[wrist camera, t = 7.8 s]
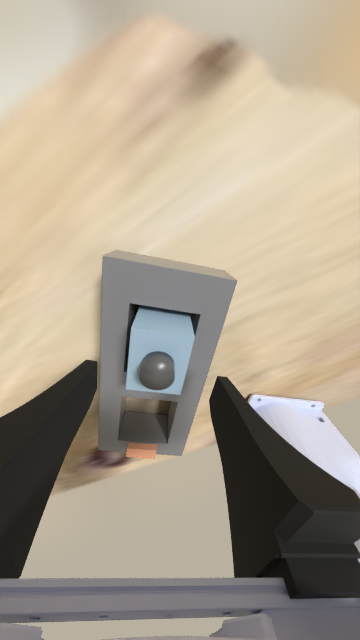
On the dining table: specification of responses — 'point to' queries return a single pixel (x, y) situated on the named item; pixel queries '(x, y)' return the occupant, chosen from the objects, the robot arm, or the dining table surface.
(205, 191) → the dining table surface
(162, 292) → the grey slotted tray
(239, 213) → the dining table surface
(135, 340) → the plug
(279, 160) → the dining table surface
